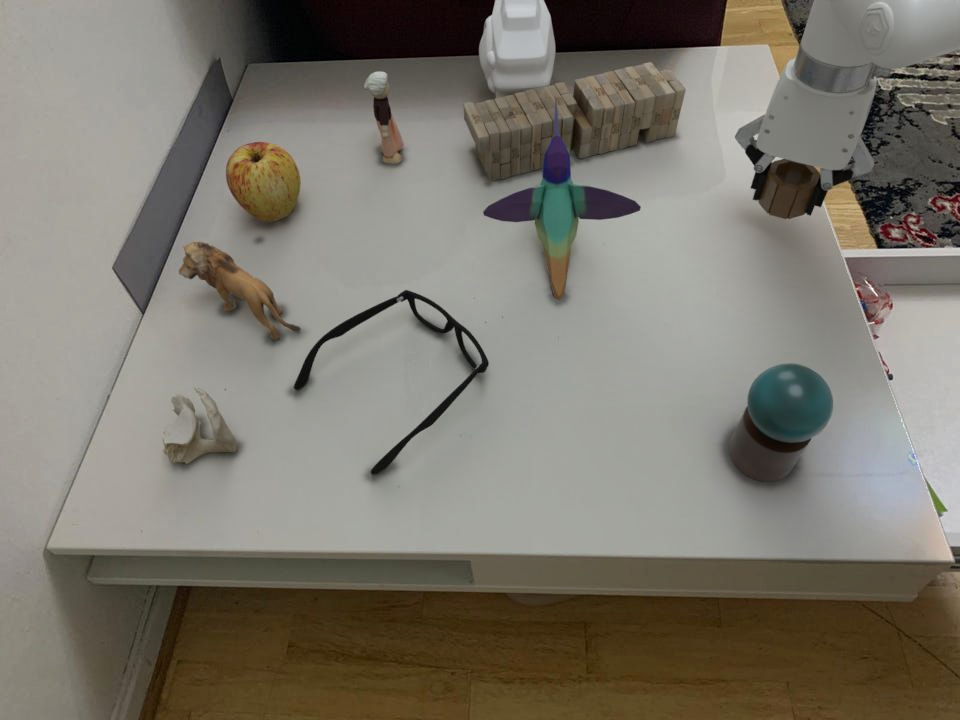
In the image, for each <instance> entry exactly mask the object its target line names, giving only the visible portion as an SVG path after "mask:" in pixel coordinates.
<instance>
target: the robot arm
mask: <svg viewBox="0 0 960 720" xmlns="http://www.w3.org/2000/svg"><path fill="white" fill-rule="evenodd" d="M809 11H810V12H809V15H808V18H807V21H806V25H805V28H804V31H803V34H802V37H801V39H800V43H799V46H798V49H797V53H796V55H795V57H793V58H791V59H790V60H788V62H787V63H786V65H785V66H784V68H783V70H782V72H781V74H780V76H779V78H778V80H777V82H776V84H775V87H774V88H773V89H774V90H773V92H772V94H771V98H770V100H769V102H768V104H767V107H766V111H765V113H764V114H763V115H761V116H758V117H757V118H756V119H754V120H752V121H750V122H748V123H745V125H742V126H741V127H739V128H738V129H737V131H736V133H735V136H734V139H735V140H736V142H737V143H738V144H739V146H740V147H741V148H742V149H744V153H745V155H746V156H747V158H748V159H749V161H750V162H751V163H752V165H753V171H754V175H753V178H752V182H751V185H750V189H751V190H754V193H753V197H752V200H753V201H758V200H759V198H760V195H761V192H762V189H763V186H764V183H765V180H766V177H767V173H768V171H769V168H770V166H771V164H772V162H774V160H775V158H779V159H787V160H791V161H794V162H798V163H802V164H806V165H810V166H814V167H815V168H819V173H820V178H819V181H818V183H817V186H816V187H815V190H814V192H813V195H812V197H811V200H810V202H809V205H808V207H807V210H806V212H805V214H806V215H808V216H810V217H811V216H812V214H813V211H814V209H815V207H818V208H821V207H822V206H823V203H824V201H825V198H826V196H827V194H828V191H830V190H832V189H833V187H835V186H838V185H840V184H843V183H847V182H848V181H851V180H852V179H853V178H855V177H856V178H857V177H861V176H863V175H866V174H867V175H868V174H870V173H872V171H873V168H874V166H875V160H874V158H873V156H872V154H871V153H870V151H869V149H868V147H867V145H866V144H865V142H864V140H863V138H862V136H861V135H862V133H863V131H864V127H865V125H866V122H867V120H868V116H869V114H870V111H871V108H872V104H873V101H874V98H875V94H876V88H877V83H878V78H879V77H885V78H888V77H889V75H890V73H891V70H895V69H903V68H907V67H911V66H914V65H916V64H917V65H918V64H920V63H922V62H925V61H929V60H933V59H935V58H938V57H942V56H944V55H946V54H950V53H952V52H953V53H954V52H956V51H958V50H960V0H813V2H812V5H811V8H810V10H809ZM756 135H757V138H756V139H755V136H756ZM852 158H853V160H854V161H853V162H852V163H851V162H850V161H851V160H852Z"/></svg>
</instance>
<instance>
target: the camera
mask: <svg viewBox="0 0 960 720" xmlns="http://www.w3.org/2000/svg"><path fill="white" fill-rule="evenodd" d="M554 34H555V33H554V28H553V23H552V17H551V13H550V11H549V9H548V7H547V4H546V2H545V0H494V5H493V9H492V14H491V15H489V16H488V17H487V18H486V19H485V21H484V25H483V33H482V35H481V39H480V41H479V46H478V58H479V64H480V68H481V71H482V72H483V74H484V79H485V81H486V82H487V87H488V90H490V91H491V92H492V93H493V94H495V99H496V98H500V97H505V96H508V95H514V94H515V93H519V92H524V91H526V90H530V89H534V90H535V89H536V88H541V87H546V86H550V85H551V82H552V78H553V73H554V72H553V71H554V66H555V58H556V40H555V35H554Z"/></svg>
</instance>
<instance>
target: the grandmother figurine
mask: <svg viewBox="0 0 960 720" xmlns="http://www.w3.org/2000/svg"><path fill="white" fill-rule="evenodd" d="M388 77H389V76H388V74H387V73H386V72H385V71H374V72H372V73H370V74H369V76H368V77H367V78H366V80H365V82H364V85H363V88H364V90H366V91H369V93H370V94H371V95H372V96H373V104H372V105H373V106H372V108H373V115H374V119H375V122H376V126H377V129H378V131H379V133H380V138H381V147H380V153H382V154H383V158H382V162H383V163H384V164H392V165H397V164H400V163H402V161H403V156H402V155H401V153H399V151H400V150H402V149H403V147H404V142H403V138H402V134H401V132H400V129H399V127H398V125H397V122H396V119H395V117H394V115H393V114H392V111H391V109H392V108H391V106H390V103H389V97H388V96H389V95H390V92H391V91H390V90H391V88H390V84H389V83H388Z"/></svg>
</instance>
